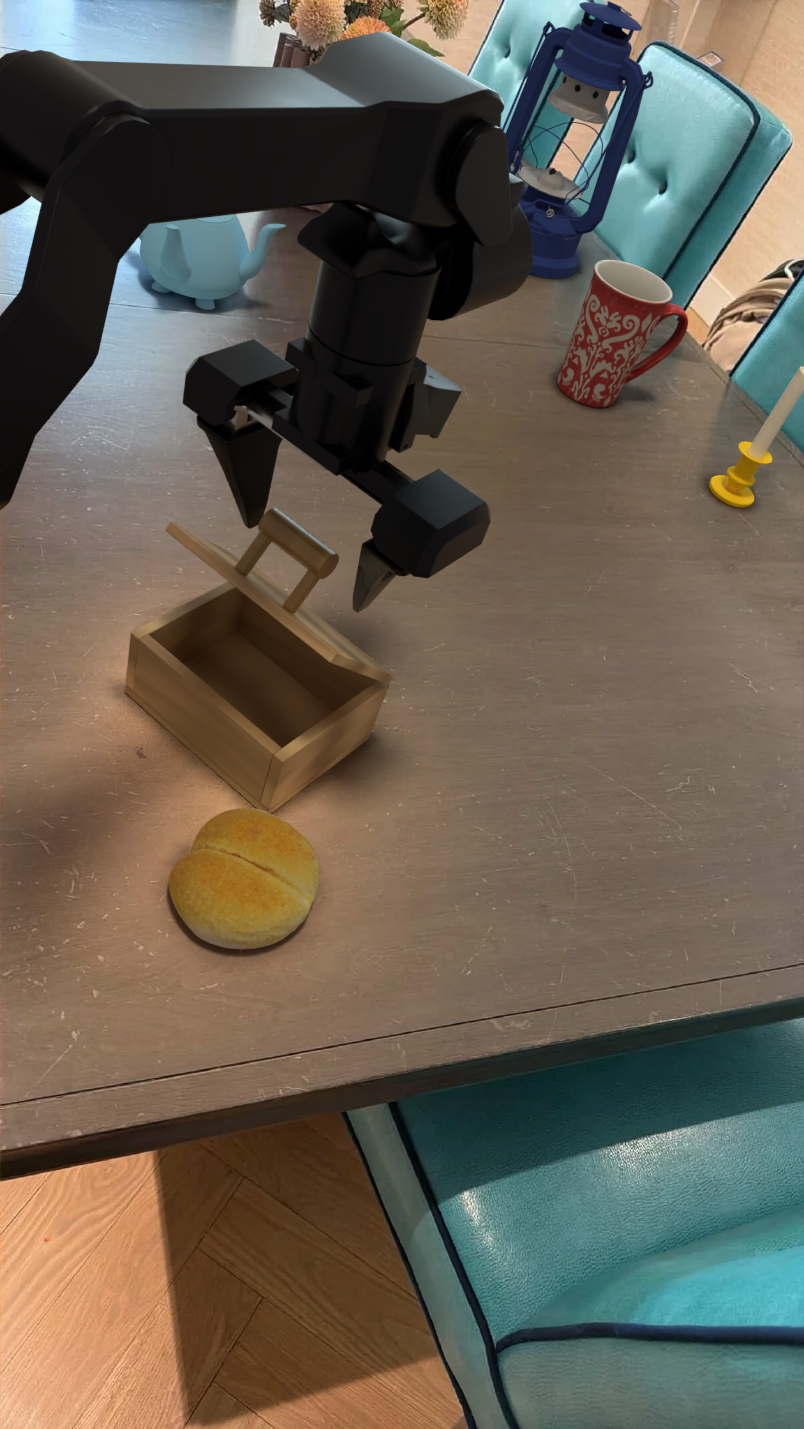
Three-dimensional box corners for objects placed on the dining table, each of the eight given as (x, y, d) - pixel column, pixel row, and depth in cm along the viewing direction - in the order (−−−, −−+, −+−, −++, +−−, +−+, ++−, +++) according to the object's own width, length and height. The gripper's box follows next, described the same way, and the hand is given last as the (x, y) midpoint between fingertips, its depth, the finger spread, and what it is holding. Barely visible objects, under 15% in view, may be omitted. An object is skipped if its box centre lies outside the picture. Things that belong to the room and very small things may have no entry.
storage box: (266, 817, 64) (282, 762, 60) (124, 692, 68) (130, 631, 64) (369, 739, 71) (389, 684, 67) (234, 628, 75) (246, 570, 71)
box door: (329, 663, 56) (383, 589, 55) (164, 529, 60) (213, 460, 59) (388, 684, 67) (434, 623, 66) (244, 570, 70) (286, 511, 70)
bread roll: (144, 916, 57) (149, 879, 55) (221, 810, 64) (229, 772, 61) (270, 983, 57) (282, 949, 54) (335, 869, 63) (349, 833, 60)
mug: (554, 403, 112) (603, 289, 103) (543, 362, 118) (588, 250, 109) (655, 427, 115) (712, 318, 105) (639, 385, 121) (692, 279, 111)
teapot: (225, 260, 114) (238, 168, 107) (273, 321, 107) (290, 227, 100) (114, 257, 107) (120, 158, 100) (158, 322, 101) (168, 221, 94)
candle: (760, 502, 110) (842, 376, 99) (735, 512, 107) (817, 384, 96) (725, 474, 112) (801, 348, 101) (699, 484, 109) (775, 355, 98)
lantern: (599, 268, 143) (699, 30, 122) (553, 292, 133) (653, 37, 112) (500, 213, 147) (581, -27, 125) (448, 233, 136) (526, -25, 115)
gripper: (587, 388, 53) (493, 600, 64) (332, 224, 58) (285, 448, 69) (470, 450, 46) (386, 677, 57) (191, 258, 51) (164, 501, 62)
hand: (305, 566), depth 62 cm, fingers open, 9 cm apart
